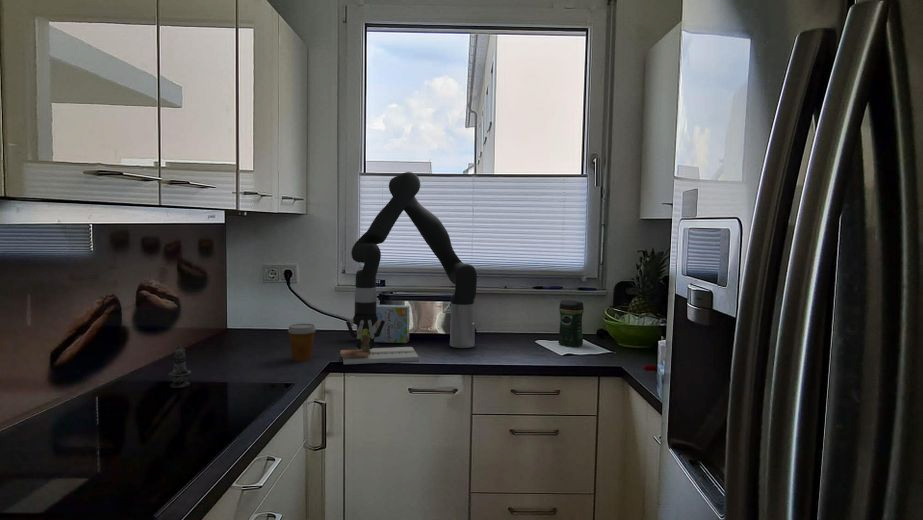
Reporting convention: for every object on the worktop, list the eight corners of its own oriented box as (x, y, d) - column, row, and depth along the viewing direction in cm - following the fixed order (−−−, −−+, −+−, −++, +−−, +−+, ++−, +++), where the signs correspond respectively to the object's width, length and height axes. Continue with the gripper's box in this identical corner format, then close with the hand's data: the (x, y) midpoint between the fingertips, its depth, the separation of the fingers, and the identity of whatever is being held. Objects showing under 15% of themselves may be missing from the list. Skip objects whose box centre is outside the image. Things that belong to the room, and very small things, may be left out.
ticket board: (412, 352, 196) (412, 346, 196) (418, 360, 184) (418, 354, 183) (342, 355, 190) (342, 349, 189) (343, 364, 177) (343, 357, 177)
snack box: (409, 341, 216) (409, 305, 216) (406, 343, 211) (407, 307, 210) (359, 338, 218) (360, 303, 218) (355, 341, 213) (356, 305, 212)
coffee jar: (585, 345, 214) (587, 300, 213) (575, 348, 208) (577, 302, 207) (565, 341, 221) (566, 298, 219) (555, 344, 215) (556, 299, 214)
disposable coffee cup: (321, 357, 186) (321, 324, 185) (305, 364, 177) (305, 329, 176) (298, 355, 189) (299, 322, 188) (281, 361, 180) (281, 326, 179)
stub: (369, 351, 185) (369, 333, 185) (370, 355, 180) (370, 337, 180) (340, 353, 183) (340, 334, 182) (340, 356, 177) (340, 337, 177)
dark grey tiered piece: (174, 381, 154) (173, 341, 153) (194, 381, 154) (194, 342, 154) (164, 388, 148) (163, 346, 147) (185, 387, 148) (185, 346, 148)
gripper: (384, 298, 186) (384, 345, 187) (344, 298, 183) (344, 347, 184) (387, 301, 179) (386, 350, 180) (345, 301, 176) (345, 352, 177)
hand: (365, 348), depth 182 cm, fingers open, 3 cm apart
